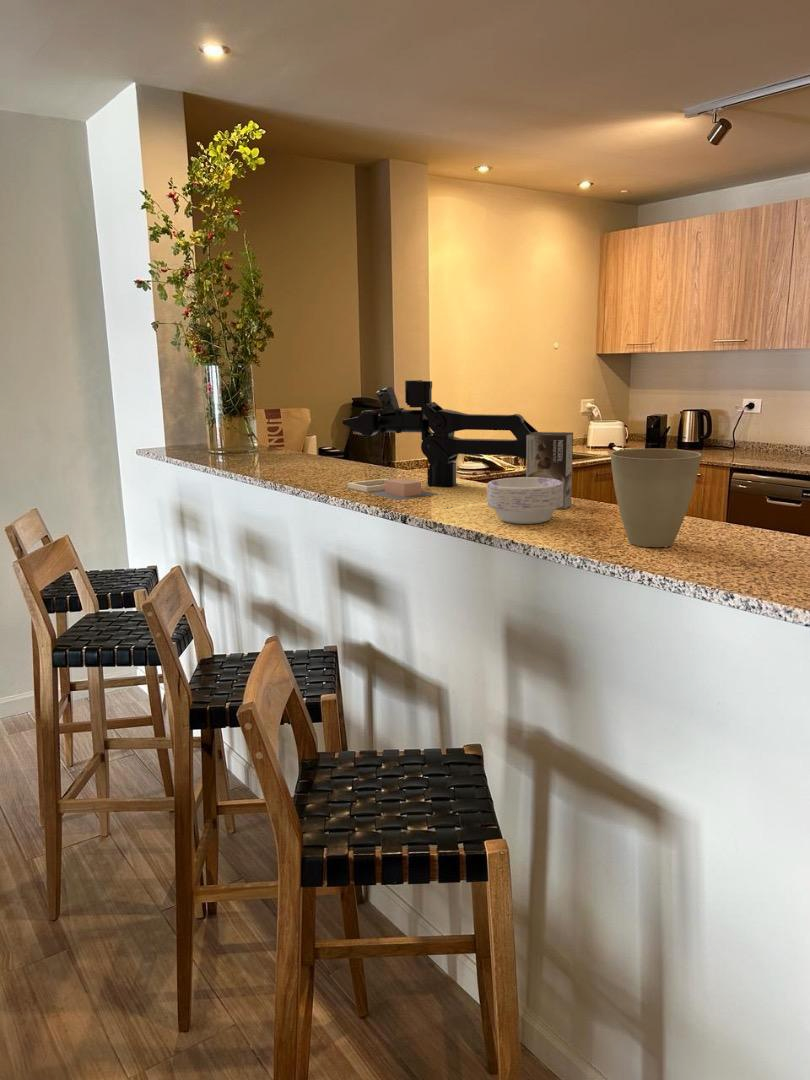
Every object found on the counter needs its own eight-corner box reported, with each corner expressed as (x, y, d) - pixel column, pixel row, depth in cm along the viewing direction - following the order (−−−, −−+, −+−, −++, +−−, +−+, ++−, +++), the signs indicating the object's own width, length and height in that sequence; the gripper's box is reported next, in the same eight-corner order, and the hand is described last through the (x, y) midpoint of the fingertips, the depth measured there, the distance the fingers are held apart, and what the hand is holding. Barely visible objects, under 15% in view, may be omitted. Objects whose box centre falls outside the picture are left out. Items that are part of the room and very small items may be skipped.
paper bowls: (473, 516, 162) (474, 478, 160) (537, 510, 168) (538, 474, 166) (509, 530, 148) (510, 489, 146) (577, 523, 154) (579, 484, 152)
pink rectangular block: (421, 494, 185) (421, 481, 185) (404, 496, 182) (404, 484, 182) (401, 490, 192) (401, 478, 191) (384, 492, 189) (384, 480, 188)
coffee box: (572, 504, 174) (574, 432, 170) (565, 509, 168) (567, 434, 164) (532, 502, 177) (534, 430, 174) (524, 506, 172) (526, 433, 168)
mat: (439, 496, 186) (439, 489, 185) (398, 502, 179) (398, 494, 178) (382, 484, 204) (381, 477, 204) (343, 489, 197) (342, 482, 197)
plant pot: (631, 530, 147) (636, 446, 143) (709, 542, 137) (716, 452, 133) (590, 544, 137) (594, 453, 133) (670, 558, 126) (677, 460, 123)
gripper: (417, 387, 205) (362, 387, 210) (392, 390, 188) (333, 390, 193) (417, 429, 208) (363, 429, 213) (393, 436, 191) (335, 435, 196)
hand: (350, 420), depth 204 cm, fingers open, 9 cm apart
